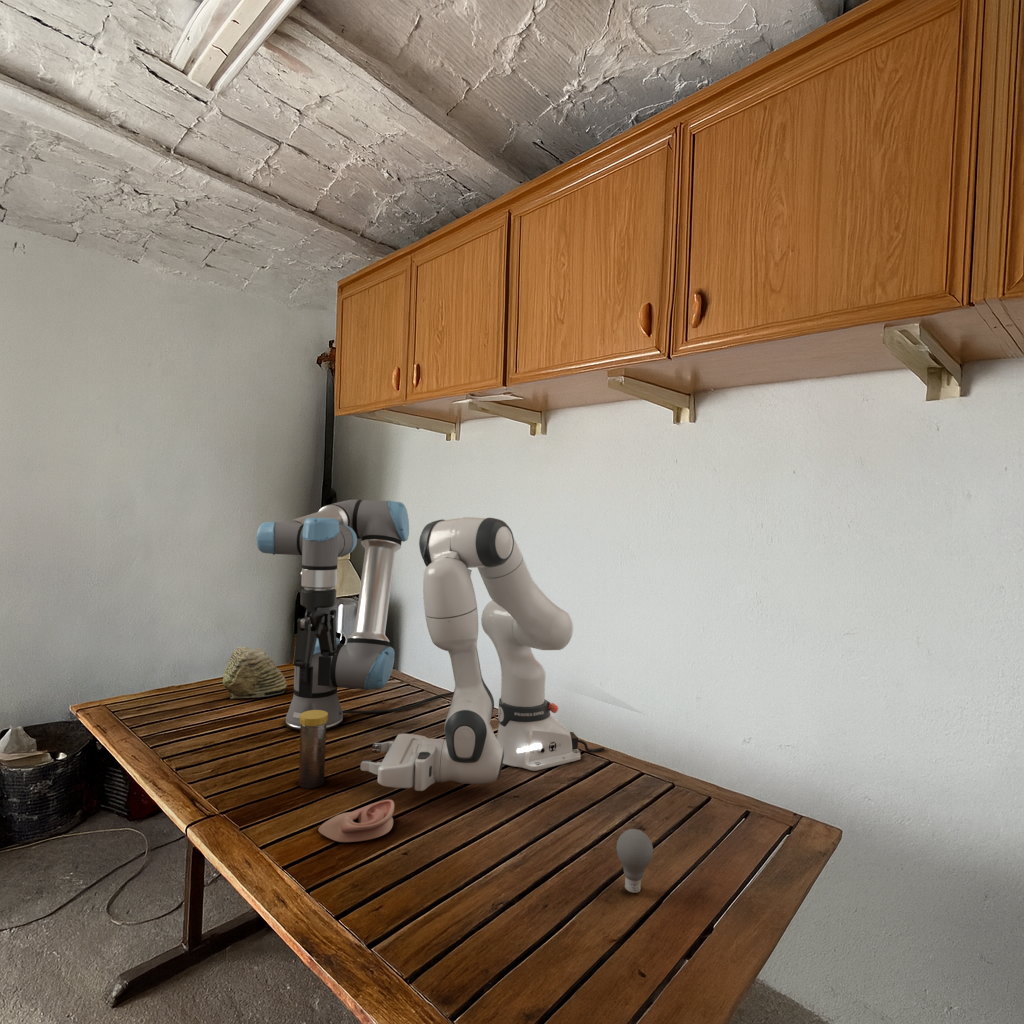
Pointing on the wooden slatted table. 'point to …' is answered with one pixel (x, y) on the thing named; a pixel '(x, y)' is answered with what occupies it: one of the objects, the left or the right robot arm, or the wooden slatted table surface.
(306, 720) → the lid
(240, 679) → the fossil
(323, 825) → the anatomical model
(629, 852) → the light bulb
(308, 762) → the jar
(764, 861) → the wooden slatted table surface
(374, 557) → the left robot arm
